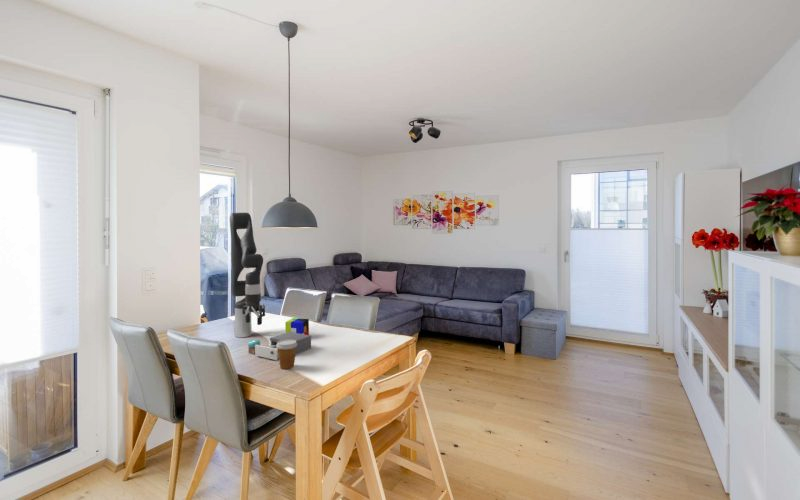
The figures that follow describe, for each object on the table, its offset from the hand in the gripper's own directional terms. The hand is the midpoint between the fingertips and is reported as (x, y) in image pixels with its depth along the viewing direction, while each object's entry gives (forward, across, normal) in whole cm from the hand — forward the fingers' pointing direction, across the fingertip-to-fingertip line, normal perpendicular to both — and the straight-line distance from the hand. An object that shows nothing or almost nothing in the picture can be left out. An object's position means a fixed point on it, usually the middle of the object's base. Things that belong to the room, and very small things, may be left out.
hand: (253, 323), depth 207 cm
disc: (+11, 0, 0) cm, 11 cm away
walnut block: (+15, 0, 0) cm, 15 cm away
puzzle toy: (+16, -1, +33) cm, 37 cm away
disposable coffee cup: (+16, +30, -7) cm, 35 cm away
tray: (+15, +13, +2) cm, 20 cm away
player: (+15, +13, +13) cm, 24 cm away
